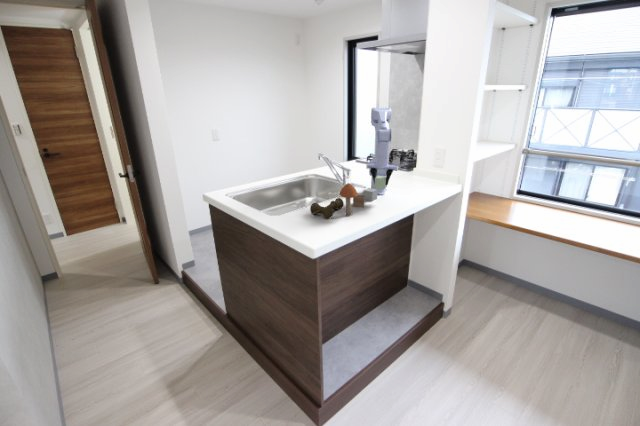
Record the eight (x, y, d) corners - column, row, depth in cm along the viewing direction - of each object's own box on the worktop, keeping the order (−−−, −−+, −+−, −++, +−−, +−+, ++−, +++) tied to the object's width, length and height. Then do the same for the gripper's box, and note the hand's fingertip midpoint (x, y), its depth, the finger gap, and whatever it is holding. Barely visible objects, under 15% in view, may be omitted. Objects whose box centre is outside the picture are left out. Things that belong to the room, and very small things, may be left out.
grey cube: (368, 197, 166) (368, 187, 165) (376, 198, 164) (377, 189, 162) (363, 199, 163) (363, 190, 161) (372, 201, 160) (372, 192, 158)
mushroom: (342, 219, 139) (343, 186, 133) (336, 213, 146) (336, 181, 140) (359, 217, 141) (360, 184, 135) (353, 211, 148) (353, 179, 142)
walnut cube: (354, 203, 158) (354, 193, 156) (364, 204, 157) (364, 194, 155) (352, 206, 153) (353, 197, 151) (363, 207, 152) (363, 197, 150)
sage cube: (376, 185, 157) (377, 175, 155) (386, 186, 155) (387, 176, 153) (374, 188, 152) (374, 178, 150) (384, 189, 151) (385, 179, 149)
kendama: (348, 210, 150) (320, 223, 136) (332, 207, 156) (304, 218, 141) (348, 198, 148) (320, 209, 134) (332, 195, 154) (303, 205, 139)
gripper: (365, 156, 147) (364, 184, 152) (396, 158, 142) (394, 187, 147) (368, 153, 153) (367, 181, 158) (399, 155, 148) (397, 183, 153)
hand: (380, 184), depth 153 cm, fingers closed on sage cube, 5 cm apart
